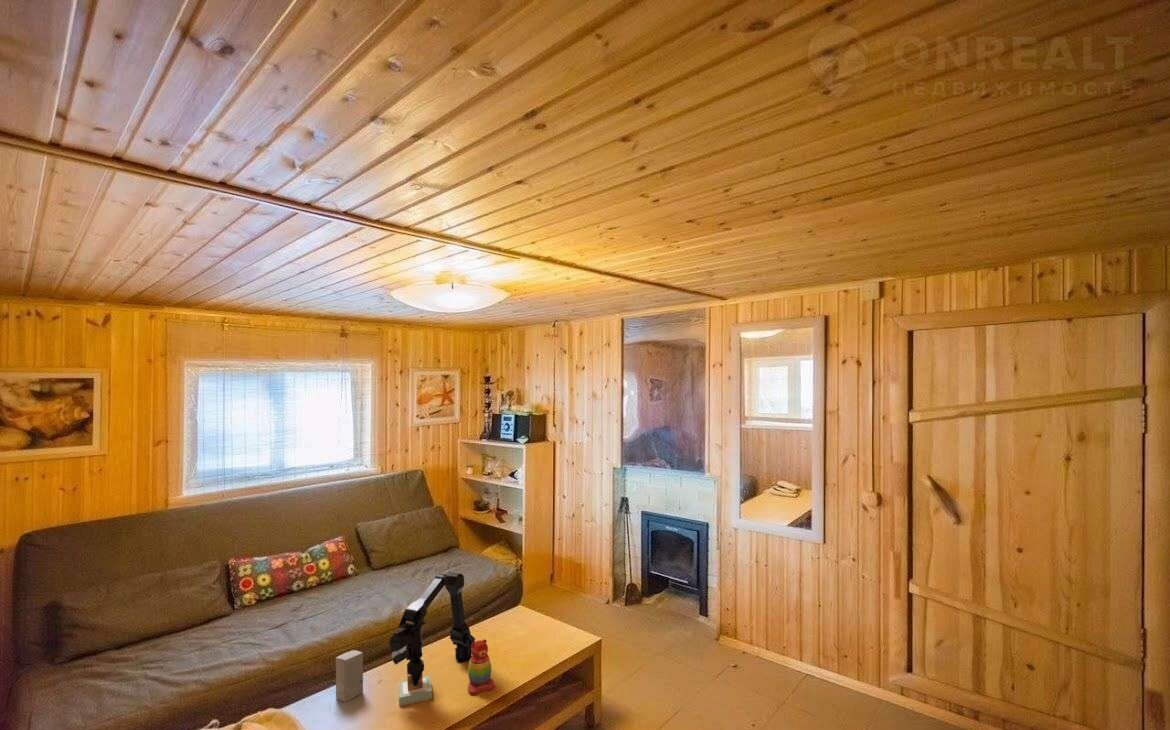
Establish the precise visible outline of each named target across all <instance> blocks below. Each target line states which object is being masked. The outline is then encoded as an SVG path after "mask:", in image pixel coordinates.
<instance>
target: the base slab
mask: <svg viewBox="0 0 1170 730" xmlns="http://www.w3.org/2000/svg"><path fill="white" fill-rule="evenodd" d="M422 680H423V688H420V689H415V690H410V691H408V685H407V679H406V680H402V681H398V706H399V707H400V706H401V707H402V706H405V705H410V704H413V703H414V704H415V703H418V702H423V701H427V700H432V698H433V694H432V693H433V690H432V684H431V678H430V675H426V676H422Z"/></svg>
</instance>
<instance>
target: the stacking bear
mask: <svg viewBox="0 0 1170 730" xmlns="http://www.w3.org/2000/svg"><path fill="white" fill-rule="evenodd" d="M488 651H489V647H488V644H487V640H486V639H482V640H475V642H474V643H472V645H471V656H472V657H471V659H470V660H469V662H468V666H467V676H468V679H469V680H468V681H469V682H468V686H467V692H468V694H469V695H471V696H475V695H478V694H480V693H482V692H486V691H494V690H495V688H496V683H495V681H494V680H493V679H492V678H491V675H492V662H491V659H490V657H489V653H488Z"/></svg>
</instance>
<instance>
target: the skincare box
mask: <svg viewBox="0 0 1170 730" xmlns="http://www.w3.org/2000/svg"><path fill="white" fill-rule="evenodd" d="M363 655H364V653H363V651H359V650H355V649H352V650H350V651H347V652H344V653H342V654H341V655H338V656H336V657H335V698H336V699H338V700H340V701H342V702H344V703H348V702H349V701H351V700H353V699H354V698H356V697H357V696H358V697H359V695H362V694H363V693H364V658H363V657H364V656H363Z"/></svg>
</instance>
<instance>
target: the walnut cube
mask: <svg viewBox="0 0 1170 730" xmlns="http://www.w3.org/2000/svg"><path fill="white" fill-rule="evenodd" d="M406 674H407V676H406V677H407V679H406V680H407V685H408V691H410V690H415V689H420V688H423V680H422V677H423V673H422V674H421V677H420V679H419V682H418V684H417V686H414V684H413V680H412V676H411V675H410V674H408V673H407V672H406Z"/></svg>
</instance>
